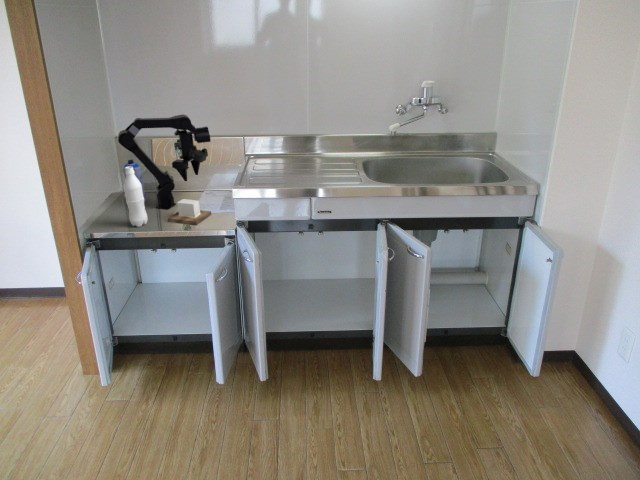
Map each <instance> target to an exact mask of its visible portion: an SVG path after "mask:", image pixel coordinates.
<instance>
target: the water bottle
mask: <svg viewBox="0 0 640 480" xmlns="http://www.w3.org/2000/svg"><path fill="white" fill-rule="evenodd" d="M125 169H126V171H125V172H126V173H125V174H126V179H125V178H124V182H123V187H122V188H123V191H124V196H125V202H126V204H127V207H128V212H129V216H128V217H129V218H128V220H129V222H130V224H131V225H132V226H133V227H135V226H136V227H142V226H143V225H144V226H145V225H147V223H148V213H147V211H146V207H145V202H144V197H143V191H142V185H141V183H140V181H139V180H138V179H137V177H136V176H135V174H134V173H135V172H134V170H133V166H127V167H125Z"/></svg>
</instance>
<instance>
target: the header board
mask: <svg viewBox="0 0 640 480" xmlns="http://www.w3.org/2000/svg"><path fill="white" fill-rule="evenodd" d="M211 215H212V211H211V210H203V209H202V210H201V209H200V214H199V215H198V216H196V217H187V216H179V211H178V210H177V211H176V212H175V213H174V214H172V215H171V216H169V217H168V218H167V222H168V223H169V222H170V223H175V224H176V223H178V224H183V225H185V224H186V225H193V226H198V225H199V224H201V223H202V222H203V221H204V220H206V219H208V218H209V217H210V216H211Z"/></svg>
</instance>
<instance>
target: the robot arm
mask: <svg viewBox="0 0 640 480" xmlns="http://www.w3.org/2000/svg"><path fill="white" fill-rule="evenodd" d="M163 128H164V129H165V128H167V129H174V130H175V131H174V132H173V134H174V136H178V138H179V144H180V145H179V147H178V151H179V150H180V153H181V155H180V156H179V159H178V158H177V159H175V160H173V161H172V163H171V167H172V169H174V170H176V171H177V172H178V173H179V175H180V177H181V178H182V179H183V180H184V182H188V169H190V167H189V166H190V165H191V167H192V169H193V172H194V175H196V176H198V175H199V170H200V166H201V163H203V162H205V161H206V160H207V157H208V156H209V154H208V153H209V152H208V149H207V148H205V147H204V148H202V149H197V145H195V144H194V142H196V143H197V144H202V143H203V144H205V143H211V135H210V130H209V127H208V126H201V127H195V125H194V124H193V123H192V120H191V119H190V116H188V115H187V114H179V115H178V114H177V115H174V116H173V115H172V116H171V117H153V118H152V117H150V118H149V117H143V118H140V117H136V118H135V119H134V120H133V122H131V123H130V124H129V125H127V127H126V128H125V129H122V130H121V131H119V132H118V136H117V137H118V138H117V141H118V143H119V144H120V145H121V147H123V148H125V150H128V151H129V152H130V153H132V154H133V155H134V156H135V158H137V159H138V160H139V162H140V163H141V164H142V165H143V166H144V167H145V168H146V169H147V170H148V172H149V173H151V174H152V176H153V177H155V179H156V181H157V183H158V185H157V186H156V192H157V194H156V199H157V206H156V209H163V210H170V209H171V208H173V207H175V206H176V205H177V203H175V197H174V196H173V195H174V194H173V193H172V192H173V191H174V190H175V185H176V184H175V180H174V177H173V176H172V175H171V174H170V173H169V171H168V170H165V171H163V170H161V169H160V167H159V166H158V165H157V164H156V163H155V162H154V161H153V160H152V159H151V157H149V154H147V153H146V152H145V151H144V150H143V148H141V147H140V145H139V144H138V141H137V140H136V137H137V135H138V134H139V132H140V131H141V130H142V129H163ZM189 163H190V165H189Z"/></svg>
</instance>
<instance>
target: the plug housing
mask: <svg viewBox="0 0 640 480" xmlns="http://www.w3.org/2000/svg"><path fill="white" fill-rule="evenodd" d="M176 205H177V212H178V211H179V216H187V217H196V216H198V215H199V214H200V210H201V208H200V200H194V199H188V198H187V199H185V198H182V199H181V200H179V201H177V203H176Z"/></svg>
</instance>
